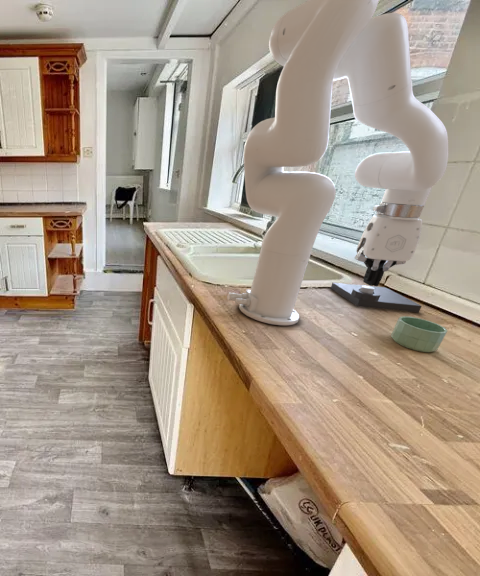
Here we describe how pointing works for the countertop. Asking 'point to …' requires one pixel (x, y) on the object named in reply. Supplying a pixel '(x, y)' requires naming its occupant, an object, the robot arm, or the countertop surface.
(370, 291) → the tare button
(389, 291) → the scale
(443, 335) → the bowl
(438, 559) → the countertop surface
